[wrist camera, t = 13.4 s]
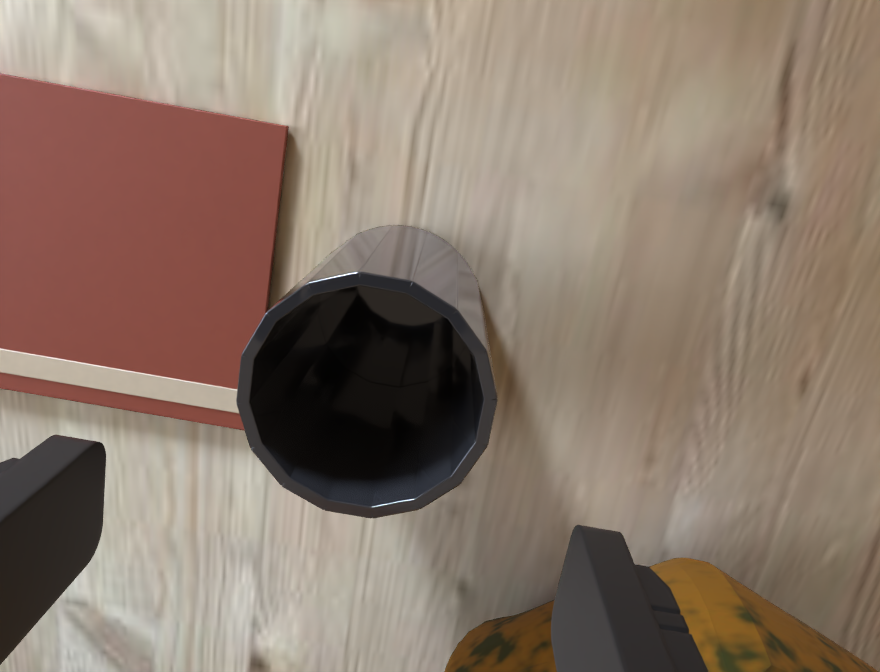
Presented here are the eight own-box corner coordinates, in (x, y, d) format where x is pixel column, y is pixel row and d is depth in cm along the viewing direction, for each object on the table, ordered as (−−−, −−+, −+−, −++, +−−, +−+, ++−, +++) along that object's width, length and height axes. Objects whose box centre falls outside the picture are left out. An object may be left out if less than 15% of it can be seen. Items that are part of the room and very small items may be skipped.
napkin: (288, 126, 26) (286, 126, 26) (254, 429, 29) (251, 432, 29) (-156, 45, 26) (-164, 43, 25) (-142, 360, 29) (-148, 363, 28)
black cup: (496, 241, 27) (518, 299, 17) (464, 401, 29) (469, 535, 19) (325, 211, 27) (251, 252, 17) (304, 373, 28) (225, 494, 19)
